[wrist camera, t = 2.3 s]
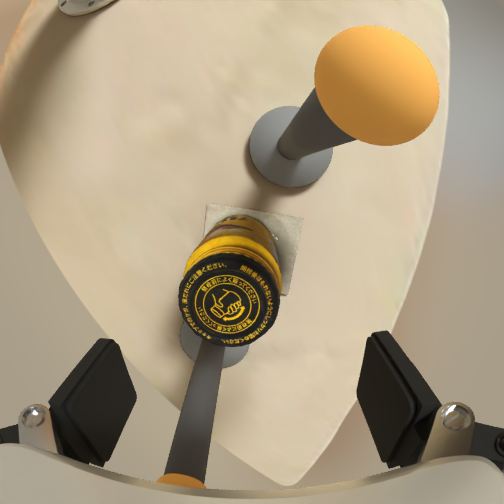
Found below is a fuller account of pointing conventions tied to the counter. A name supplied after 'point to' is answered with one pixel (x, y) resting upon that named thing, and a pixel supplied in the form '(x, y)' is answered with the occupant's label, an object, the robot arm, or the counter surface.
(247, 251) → the condiment
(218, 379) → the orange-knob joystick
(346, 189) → the counter surface
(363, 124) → the stand
